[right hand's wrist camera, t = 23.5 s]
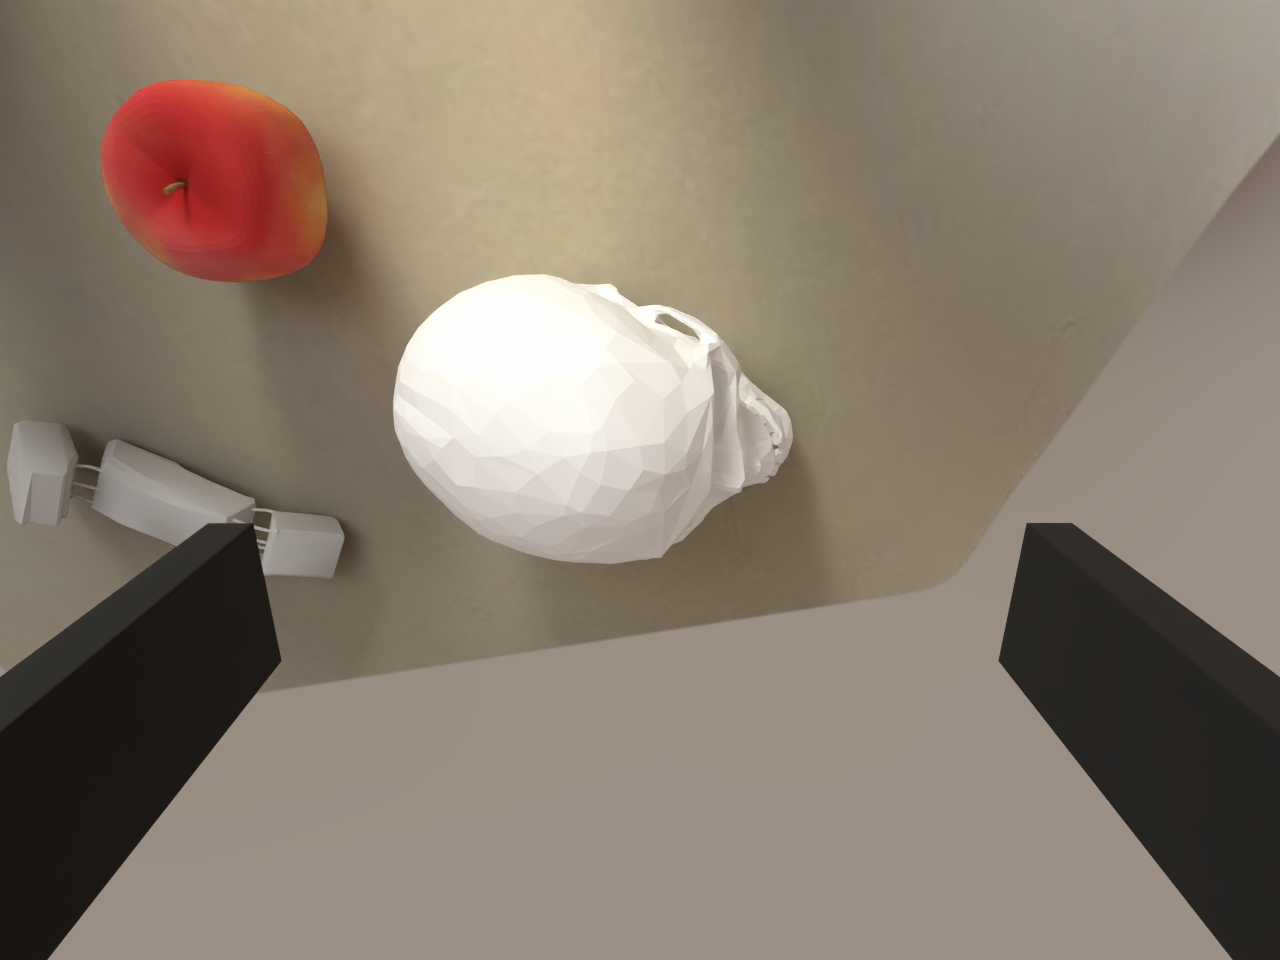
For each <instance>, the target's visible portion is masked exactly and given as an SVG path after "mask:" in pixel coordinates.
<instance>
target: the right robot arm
mask: <svg viewBox="0 0 1280 960" xmlns="http://www.w3.org/2000/svg"><path fill="white" fill-rule="evenodd" d="M280 662H281V656H280V651H279V646H278V642H277V637H276V632H275V627H274V622H273V617H272V612H271V607H270V602H269V598H268V593H267V588H266V583H265V578H264V573H263V568H262V563H261V559H260V554H259V549H258V544H257V539H256V534H255V529H254V524H253V523H208V524H206V525H205V526H204V527H202V528H201V529H200V530H198V531H197V532H196V533H194V534H193V535H191V536H190V537H189V538H187V539H186V540H185V541H183V542H182V543H181V544H179V545H178V546H177V547H175V548H174V549H173V550H171V551H170V552H169V553H167V554H166V555H164V556H163V557H162V558H160V559H159V560H158V561H156V562H155V563H154V564H152V565H151V566H150V567H148V568H147V569H146V570H144V571H143V572H141V573H140V574H139V575H137V576H136V577H135V578H133V579H132V580H131V581H129V582H128V583H127V584H125V585H124V586H123V587H121V588H120V589H119V590H117V591H116V592H114V593H113V594H112V595H110V596H109V597H108V598H106V599H105V600H104V601H102V602H101V603H100V604H98V605H97V606H96V607H94V608H93V609H92V610H90V611H89V612H87V613H86V614H85V615H83V616H82V617H81V618H79V619H78V620H77V621H75V622H74V623H73V624H71V625H70V626H69V627H67V628H66V629H65V630H63V631H62V632H60V633H59V634H58V635H56V636H55V637H54V638H52V639H51V640H50V641H48V642H47V643H46V644H44V645H43V646H42V647H40V648H39V649H38V650H36V651H35V652H33V653H32V654H31V655H29V656H28V657H27V658H25V659H24V660H23V661H21V662H20V663H19V664H17V665H16V666H15V667H13V668H12V669H10V670H9V671H8V672H6V673H5V674H4V675H2V676H1V677H0V960H47V959H48V958H49V957H50V956H51V954H52V953H53V952H54V951H55V949H56V948H57V947H58V945H59V944H60V943H61V942H62V940H63V939H64V938H65V936H66V935H67V934H68V933H69V931H70V930H71V929H72V928H73V926H74V925H75V924H76V922H77V921H78V920H79V919H80V917H81V916H82V915H83V914H84V912H85V911H86V910H87V908H88V907H89V906H90V905H91V903H92V902H93V901H94V899H95V898H96V897H97V896H98V894H99V893H100V892H101V891H102V889H103V888H104V887H105V885H106V884H107V883H108V882H109V880H110V879H111V878H112V877H113V875H114V874H115V873H116V871H117V870H118V869H119V868H120V866H121V865H122V864H123V862H124V861H125V860H126V859H127V857H128V856H129V855H130V854H131V852H132V851H133V850H134V848H135V847H136V846H137V845H138V843H139V842H140V841H141V839H142V838H143V837H144V836H145V834H146V833H147V832H148V831H149V829H150V828H151V827H152V825H153V824H154V823H155V822H156V820H157V819H158V818H159V817H160V815H161V814H162V813H163V811H164V810H165V809H166V808H167V806H168V805H169V804H170V802H171V801H172V800H173V799H174V797H175V796H176V795H177V794H178V792H179V791H180V790H181V788H182V787H183V786H184V785H185V783H186V782H187V781H188V779H189V778H190V777H191V776H192V774H193V773H194V772H195V771H196V769H197V768H198V767H199V765H200V764H201V763H202V762H203V760H204V759H205V758H206V757H207V755H208V754H209V753H210V751H211V750H212V749H213V748H214V746H215V745H216V744H217V742H218V741H219V740H220V739H221V737H222V736H223V735H224V734H225V732H226V731H227V730H228V728H229V727H230V726H231V725H232V723H233V722H234V721H235V720H236V718H237V717H238V716H239V714H240V713H241V712H242V711H243V709H244V708H245V707H246V705H247V704H248V703H249V702H250V700H251V699H252V698H253V697H254V695H255V694H256V693H257V691H258V690H259V689H260V688H261V686H262V685H263V684H264V683H265V681H266V680H267V679H268V677H269V676H270V675H271V674H272V672H273V671H274V670H275V669H276V667H277V666H278V665H279V663H280ZM999 662H1000V663H1001V665H1002V666H1003V667H1004V668H1005V670H1006V671H1007V672H1008V674H1009V675H1010V676H1011V677H1012V679H1013V680H1014V681H1015V682H1016V684H1017V685H1018V686H1019V688H1020V689H1021V690H1022V691H1023V693H1024V694H1025V695H1026V697H1027V698H1028V699H1029V700H1030V702H1031V703H1032V704H1033V705H1034V707H1035V708H1036V709H1037V711H1038V712H1039V713H1040V714H1041V716H1042V717H1043V718H1044V720H1045V721H1046V722H1047V723H1048V725H1049V726H1050V727H1051V728H1052V730H1053V731H1054V732H1055V734H1056V735H1057V736H1058V737H1059V739H1060V740H1061V741H1062V743H1063V744H1064V745H1065V746H1066V748H1067V749H1068V750H1069V751H1070V753H1071V754H1072V755H1073V757H1074V758H1075V759H1076V760H1077V762H1078V763H1079V764H1080V765H1081V767H1082V768H1083V769H1084V771H1085V772H1086V773H1087V774H1088V776H1089V777H1090V778H1091V780H1092V781H1093V782H1094V783H1095V785H1096V786H1097V787H1098V788H1099V790H1100V791H1101V792H1102V794H1103V795H1104V796H1105V797H1106V799H1107V800H1108V801H1109V802H1110V804H1111V805H1112V806H1113V808H1114V809H1115V810H1116V811H1117V813H1118V814H1119V815H1120V817H1121V818H1122V819H1123V820H1124V822H1125V823H1126V824H1127V825H1128V827H1129V828H1130V829H1131V831H1132V832H1133V833H1134V834H1135V836H1136V837H1137V838H1138V839H1139V841H1140V842H1141V843H1142V845H1143V846H1144V847H1145V848H1146V850H1147V851H1148V852H1149V854H1150V855H1151V856H1152V857H1153V859H1154V860H1155V861H1156V862H1157V864H1158V865H1159V866H1160V868H1161V869H1162V870H1163V871H1164V873H1165V874H1166V875H1167V876H1168V878H1169V879H1170V880H1171V882H1172V883H1173V884H1174V885H1175V887H1176V888H1177V889H1178V891H1179V892H1180V893H1181V894H1182V896H1183V897H1184V898H1185V899H1186V901H1187V902H1188V903H1189V905H1190V906H1191V907H1192V908H1193V910H1194V911H1195V912H1196V913H1197V915H1198V916H1199V917H1200V919H1201V920H1202V921H1203V922H1204V924H1205V925H1206V926H1207V928H1208V929H1209V930H1210V931H1211V933H1212V934H1213V935H1214V936H1215V938H1216V939H1217V940H1218V942H1219V943H1220V944H1221V945H1222V947H1223V948H1224V949H1225V951H1226V952H1227V953H1228V954H1229V956H1230V957H1231V958H1232V959H1233V960H1280V677H1279V676H1278V675H1276V674H1275V673H1274V672H1272V671H1271V670H1269V669H1268V668H1267V667H1265V666H1264V665H1263V664H1261V663H1260V662H1259V661H1257V660H1256V659H1255V658H1253V657H1252V656H1251V655H1249V654H1248V653H1246V652H1245V651H1244V650H1242V649H1241V648H1240V647H1238V646H1237V645H1236V644H1234V643H1233V642H1232V641H1230V640H1229V639H1228V638H1226V637H1225V636H1224V635H1222V634H1221V633H1219V632H1218V631H1217V630H1215V629H1214V628H1213V627H1211V626H1210V625H1209V624H1207V623H1206V622H1205V621H1203V620H1202V619H1201V618H1199V617H1198V616H1197V615H1195V614H1194V613H1193V612H1191V611H1190V610H1188V609H1187V608H1186V607H1184V606H1183V605H1182V604H1180V603H1179V602H1178V601H1176V600H1175V599H1174V598H1172V597H1171V596H1170V595H1168V594H1167V593H1165V592H1164V591H1163V590H1161V589H1160V588H1159V587H1157V586H1156V585H1155V584H1153V583H1152V582H1151V581H1149V580H1148V579H1147V578H1145V577H1144V576H1143V575H1141V574H1140V573H1138V572H1137V571H1136V570H1134V569H1133V568H1132V567H1130V566H1129V565H1128V564H1126V563H1125V562H1124V561H1122V560H1121V559H1120V558H1118V557H1117V556H1116V555H1114V554H1113V553H1111V552H1110V551H1109V550H1107V549H1106V548H1105V547H1103V546H1102V545H1101V544H1099V543H1098V542H1097V541H1095V540H1094V539H1093V538H1091V537H1090V536H1088V535H1087V534H1086V533H1084V532H1083V531H1082V530H1080V529H1079V528H1078V527H1076V526H1075V525H1074V524H1072V523H1027V524H1026V530H1025V534H1024V539H1023V544H1022V549H1021V554H1020V559H1019V563H1018V568H1017V573H1016V578H1015V583H1014V588H1013V593H1012V598H1011V602H1010V607H1009V612H1008V617H1007V622H1006V627H1005V632H1004V637H1003V642H1002V646H1001V651H1000V656H999Z"/></svg>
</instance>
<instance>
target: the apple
mask: <svg viewBox="0 0 1280 960" xmlns="http://www.w3.org/2000/svg"><path fill="white" fill-rule="evenodd" d="M101 168H102V177H103V182H104V185H105V189H106V191H107V194H108V197H109V199H110V202H111V204H112V206H113V208H114V210H115V212H116V214H117V216H118V217H119V219H120V221H121V222H122V224H123V225H124V226H125V228H126V229H127V230H128V231H129V233H130V234H131V235H132V236H133V237H134V238H135V239H136V240H137V241H138V242H139V243H140V244H141V245H142V246H143V247H144V248H145V249H146V250H147V251H148V252H150V253H151V254H152V255H153V256H155V257H156V258H157V259H158V260H160V261H161V262H163V263H164V264H166V265H167V266H169V267H171V268H173V269H175V270H176V271H179V272H181V273H184V274H186V275H190V276H193V277H197V278H201V279H206V280H213V281H223V282H251V281H262V280H269V279H273V278H278V277H281V276H285V275H288V274H291V273H293V272H295V271H297V270H299V269H301V268H303V267H304V266H306V265H307V264H309V263H310V262H311V261H312V260H313V259H314V258H315V257H316V255H317V254H318V252H319V251H320V249H321V247H322V244H323V242H324V238H325V234H326V227H327V192H326V184H325V178H324V173H323V168H322V164H321V160H320V156H319V153H318V150H317V148H316V145H315V143H314V141H313V139H312V137H311V136H310V134H309V132H308V130H307V129H306V127H305V125H304V124H303V123H302V121H301V120H300V119H299V118H298V117H297V116H296V115H295V114H294V113H293V112H292V111H290V110H289V109H287V108H286V107H285V106H283V105H281V104H280V103H278V102H276V101H275V100H273V99H271V98H269V97H267V96H265V95H262V94H260V93H258V92H255V91H253V90H250V89H247V88H244V87H240V86H236V85H232V84H227V83H221V82H212V81H198V80H171V81H163V82H158V83H155V84H152V85H149V86H147V87H144V88H143V89H141V90H139V91H137V92H136V93H135V94H133V95H132V96H131V97H130V98H129V99H128V100H127V101H126V102H125V103H124V104H123V105H122V106H121V107H120V109H119V110H118V111H117V112H116V114H115V115H114V117H113V119H112V120H111V122H110V124H109V126H108V128H107V131H106V133H105V135H104V138H103V142H102V146H101Z"/></svg>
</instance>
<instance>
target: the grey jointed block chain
mask: <svg viewBox="0 0 1280 960" xmlns="http://www.w3.org/2000/svg"><path fill="white" fill-rule="evenodd" d="M78 457H79V456H78V454H77V451H76V449H75V446H74V444H73V441H72V439H71V437H70V434H69V432H68V429H67V428H66V427H65V426H64V425H62V424H60V423H53V422H40V421H28V420H22V421H20V422H17V423H16V424H14V429H13V435H12V440H11V445H10V451H9V456H8V461H7V472H8V478H9V484H10V490H11V497H12V504H13V510H14V517H15V520H16V521H17V522H18V523H19V524H20V525H21V526H22V525H24V524H27V523H29V522H30V523H37V524H44V525H51V526H59V524H60V521H61V519H62V518H64V517H67V515H68V507H69V499H72V496H74V497H77V498H79V499H82V500H84V501H87V502H89V503H92V506H91V508H93V509H95V510H96V511H98V512H100V513H102V514H104V515H105V516H107V517H109V518H111V519H112V520H114V521H116V522H118V523H119V524H121V525H124V526H126V527H129V528H132V529H134V530H137V531H140V532H142V533H145V534H147V535H150V536H153V537H155V538H158V539H160V540H163V541H166V542H168V543H170V544H172V545H174V546H176V547H177V546H178V545H179V544H181V543H182V542H183V541H185V540H186V539H187V538H189V537H190V536H191V535H193V534H194V533H196V532H197V531H198V530H200V529H201V528H202V527H204V526H205V525H206V524H208V523H253V519H254V515H255V511H257V512H268V513H271V515H272V517H271V523H270V528H269V529H266V528H262V527H258V526H254V529H256V530H260V531H264V532H269V533H268V538H267V541H263V540H259V539H257V543H261V544H266V546H261V545H258V548H259V549H264V554H263V553H259V554H260V556H261V557H260V559H261V563H262V568H263V573H264V575H265V576H270V575H271V576H295V577H318V578H329V579H331V578H332V577H333V575H334V572H335V569H336V565H337V562H338V559H339V556H340V552H341V549H342V546H343V543H344V539H345V536H344V533H343V531H342V529H341V527H340V525H339V523H338V520H337V519H336V518H334V517H331V516H324V515H313V514H302V513H291V512H280V511H274V510H270V509H261V508H256V507H257V506H256V504H255V499H254V498H252V497H247V496H244V495H242V494H240V493H237V492H235V491H233V490H230V489H228V488H225V487H223V486H221V485H218V484H216V483H214V482H211V481H209V480H207V479H205V478H203V477H200V476H198V475H196V474H194V473H192V472H190V471H188V470H186V469H184V468H183V467H181V466H180V465H179V464H178V463H176V462H173V461H171V460H168V459H166V458H163V457H161V456H158V455H156V454H153V453H151V452H148V451H146V450H143V449H141V448H138V447H136V446H133V445H131V444H128V443H126V442H123V441H121V440H119V439H116V440H112V441H110V442H108V443H107V444H106V448H105V451H104V455H103V458H102V462H101V466H100V468H99V467H95V466H91V465H82V464H78ZM77 467H78V468H89V469H93V470H96V471H98V472H99V475H98V479H97V483H96V486H93V485H88V484H84V483H80V482H76V481H75V477H76V470H77ZM74 486H78V487H85V488H89V489H93V490H95V492H94V496H93V500H92V499H89V498H87V497H84V496H82V495H79V494H77V493H74V492H73V490H74Z"/></svg>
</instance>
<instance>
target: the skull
mask: <svg viewBox="0 0 1280 960" xmlns="http://www.w3.org/2000/svg"><path fill="white" fill-rule="evenodd" d="M662 314H669V315H671V316H672V317H674V318H676V319H677V320H679V321H681V322H682V323H684V324H686V325H687V326H689V327H691V328H692V329H693V330H694V331H695V333H696V334H697V336H698V337H699V338H700V340H699V339H697V338H695V337H693V336H689V335H685V334H682V333H681V332H679V331H677V330H675V329H672V328H670V327H669V326H667V325H666V324H664V323H663V321H662V320H661V319H660V317H659V316H658V315H662ZM393 416H394V427H395V432H396V434H397V437H398V439H399V442H400V444H401V447H402V449H403V452H404V455H405V457H406V459H407V460H408V462H409V464H410V465H411V467H412V469H413V470H414V472H415V473H416V474H417V476H418V477H419V478H420V479H421V481H422V482H423V483H424V484H425V486H426V487H427V488H428V489H429V490H430V491H431V492H432V493H433V494H435V495H436V496H437V497H438V498H439V499H440V500H441V501H442V502H443V503H444V504H445V505H446V506H447V507H448V508H449V509H450V510H451V511H452V512H453V513H454V514H455V515H456V516H457V517H458V518H459V519H461V520H462V521H463V522H464V523H466V524H467V525H468V526H470V527H471V528H472V529H473V530H475V531H476V532H477V533H478V534H480V535H481V536H483V537H485V538H487V539H489V540H492V541H494V542H497V543H500V544H502V545H505V546H508V547H510V548H513V549H516V550H518V551H521V552H524V553H526V554H531V555H535V556H539V557H543V558H547V559H551V560H558V561H566V562H579V563H603V564H615V563H622V562H629V561H636V560H647V559H652V558H662V556H663V555H664V553H665V552H666V551H667V550H668V549H669V547H670V546H671V545H673V544H675V543H678V542H680V541H682V540H683V539H684V538H685V537H686V536H687V535H688V534H689V533H690V532H691V531H692V530H693V529H694V528H695V527H696V526H697V525H699V524H700V523H701V522H702V521H703V519H704V518H705V516H706V515H707V514H708V512H709V511H710V510H711V509H712V508H713V507H714V506H716V505H718V504H719V503H721V502H723V501H724V500H726V499H727V498H729V497H731V496H732V495H734V494H737V493H740V492H741V490H742V487H746V486H750V485H754V484H757V483H766V482H767V481H768V480H769V476H775V475H776V473H777V471H778V469H779V466H780V465H781V464H782V463H783V462H784V460H785V459H786V457H787V456H788V453H789V450H790V447H791V444H792V441H793V433H792V425H791V420H790V418H789V416H788V413H787V412H786V410H785V409H784V408H783V407H781V406H780V405H779V404H778V403H776V402H775V401H774V400H772V399H771V398H770V397H768V396H767V395H766V394H764V393H763V392H762V391H761V390H760V389H759V388H757V387H756V386H755V385H754V384H753V383H752V382H751V381H750V380H749V379H748V378H747V377H746V376H745V375H744V374H743V372H742V369H741V367H740V365H739V362H738V361H737V359H736V358H735V357H734V355H733V354H732V352H731V351H730V349H729V348H728V347H727V345H726V344H725V343H724V342H723V340H722V339H721V338H720V337H719V336H718V335H717V334H716V333H715V332H714V331H713V330H712V329H711V328H710V327H708V326H707V325H705V324H704V323H702V322H701V321H699V320H698V319H696V318H695V317H693V316H690V315H688V314H685V313H683V312H681V311H678V310H676V309H673V308H671V307H666V306H661V305H650V306H642V307H638V306H636V305H635V304H633V303H632V302H630V301H629V300H627V299H626V298H624V297H623V296H622V295H620V294H619V293H618V291H617V288H616V287H614V286H613V285H611V284H598V285H586V284H573V283H571V282H569V281H566V280H564V279H562V278H558V277H554V276H549V275H545V274H541V275H514V276H510V277H506V278H501V279H497V280H493V281H488V282H485V283H482V284H480V285H478V286H475V287H473V288H470V289H468V290H465V291H463V292H461V293H459V294H457V295H456V296H455V297H453V298H452V299H450V300H449V301H448V302H446V303H445V304H443V305H442V306H441V307H439V308H438V309H437V310H436V311H434V312H433V313H432V314H431V315H430V316H429V317H428V318H427V319H426V320H425V321H424V322H423V323H422V324H421V325H420V326H419V327H418V329H417V330H416V332H415V334H414V335H413V337H412V338H411V340H410V341H409V343H408V345H407V347H406V349H405V352H404V354H403V357H402V359H401V362H400V364H399V366H398V371H397V378H396V385H395V391H394V398H393ZM767 475H768V476H767Z"/></svg>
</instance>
